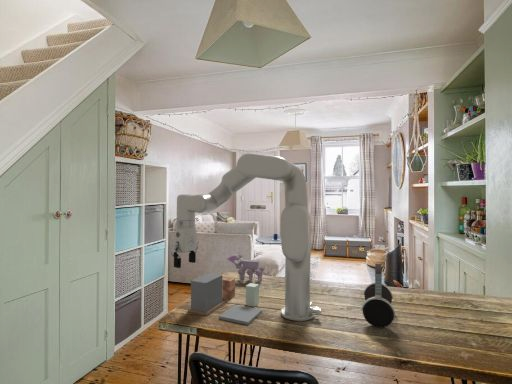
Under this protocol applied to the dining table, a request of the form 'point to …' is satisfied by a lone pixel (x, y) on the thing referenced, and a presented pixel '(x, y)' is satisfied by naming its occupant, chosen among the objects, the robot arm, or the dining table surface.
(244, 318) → the mat
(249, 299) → the sage block
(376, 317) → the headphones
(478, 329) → the dining table surface
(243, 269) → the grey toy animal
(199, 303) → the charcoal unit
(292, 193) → the robot arm
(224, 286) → the terracotta block
